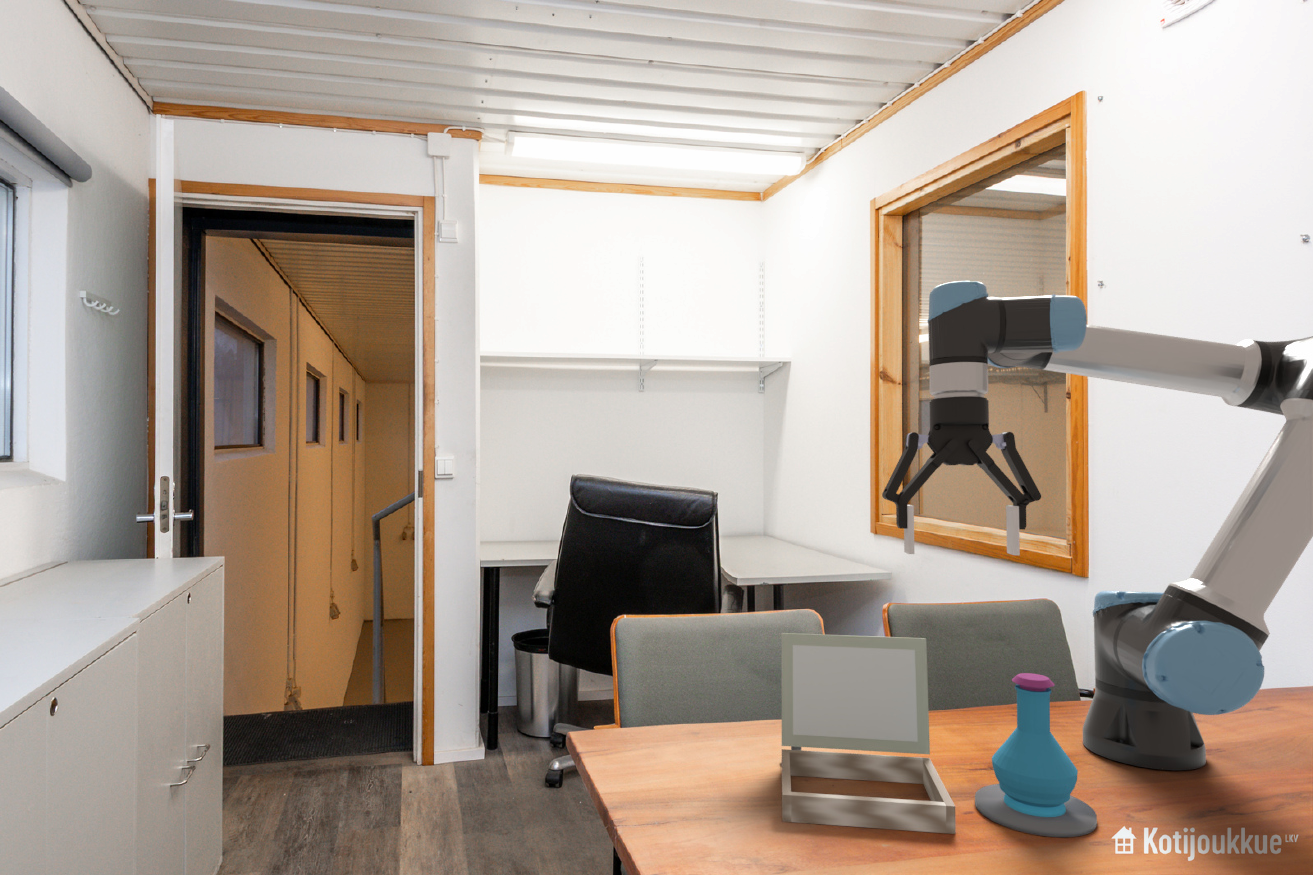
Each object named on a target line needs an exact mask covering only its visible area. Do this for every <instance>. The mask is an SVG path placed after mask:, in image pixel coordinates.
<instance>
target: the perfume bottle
mask: <svg viewBox="0 0 1313 875" xmlns="http://www.w3.org/2000/svg"><path fill="white" fill-rule="evenodd" d="M1011 681H1012V682H1013V683H1015V685H1014V690H1016V728H1015V729H1014V730H1013V731H1012V733H1011V734H1010V735H1009V736H1008V737H1007V739H1006V740H1005V741H1004V742H1003V743H1002V745H1000V747H998V748H997V750H996V751H995V752H994V753H993V755H992V757H991V762H992V764H991V765H992V768H993V771H994V775H995V778H996V780H997V781H998V784H999V786H1000V789H1001V790H1002V791H1003V792H1004V793H1005V795H1004V802H1005V804H1006V805H1007V806H1009V807H1010V808H1012V809H1014V810H1016V811H1019V812H1021V813H1025V814H1028V815H1033V816H1040V817H1057V816H1061V815H1063V814H1064V813H1065V812H1066V807H1065V805H1064V803H1065V802H1067V801H1069V799H1070V795H1071V794H1072V793H1073V791H1074V789H1075V787H1076V784H1077V781H1078V771H1079V770H1078V769H1077V767H1076V766H1075V764H1074V763H1073V761H1072V760H1071V758H1070V756H1068V755H1067V753H1066V751H1065V750H1064V749H1063V748H1062V746H1061V745H1060V743H1059V742H1058V741H1057V739H1056V738H1055V736H1054V735H1053V734H1052V731H1051V711H1050V710H1051V709H1050V708H1051V705H1050V704H1051V700H1050V698H1051V696H1050V695H1051V694H1052V687H1055V683H1054V682H1053V681H1052V680H1051V678H1050V677H1048V676H1046V675H1042V674H1038V673H1031V672H1030V673H1029V672H1026V673H1025V672H1021V673H1018V674H1016V675H1015V676H1014V677H1013V678H1012V679H1011Z"/></svg>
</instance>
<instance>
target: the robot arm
mask: <svg viewBox="0 0 1313 875" xmlns="http://www.w3.org/2000/svg"><path fill="white" fill-rule="evenodd" d="M987 290H988V289H987V286H986V284H984V283H983V282H981V281H976V280H975V281H970V280H958V281H951V282H945V283H943V284H939V285H937V286H935V287H933V289H932V290H931V291H930V293H929V297H928V298H929V299H928V302H929V303H928V319H927V323H928V324H927V327H928V328H927V329H928V330H927V332H928V360H929V362H928V363H929V388H928V389H929V395H931V396H933V398H932V399H931V400H930V402H929V431H928V434H920V433H917V432H916V431H915V432H914V431H913V432H909V433H907V434H906V435H905V444H904V449H903V451H902V454H901V455H900V458H899V459H898V461H897V464H896V466H895V467H894V469H893V471H892V474H891V475H890V478H889V480H888V482H886V486H885V487H884V489H883V492H882V493H881V494H882V496H881V497H882V499H884V500H887V501H889V502H892V503H894V504H895V508H896V510H895V514H896V516H895V517H896V518H895V519H896V520H895V521H896V527H897V528H898V529H902V530H903V534H904V536H903V541H904V542H903V543H904V545H903V546H904V547H903V548H904V551H903V552H904V553H906V554H908V555H915V505H912V504H908V503H909V502H910V501H911V500H912V499H913V497H914V496H915V495H916V494H917V493H918V491H919V490H920V489H921V488H922V487H923V486H924V484H925V483H926V482H928V480H929V479H930V478H931V476H933V474H934V473H935V472H936V470H937V469H939V468H940V467H941V466H942V465H945V466H958V465H960V466H974V465H977V467H979V468H980V469H982V471H984V473H985V474H986V475H987V476H988V477H989V478H990V479H991V480H992V482H993V483H994V484H995V485H996V486H997V487H998V488H999V489H1000V491H1001V492H1002V493H1003V494H1004V495H1005V496H1006V497H1007V498H1008V500H1009V501H1010V502H1011V503H1012V505H1010V504H1008V505H1005V514H1006V515H1005V518H1006V519H1005V520H1006V521H1005V523H1006V524H1005V525H1006V554H1009V555H1012V556H1020V555H1021V554H1020V551H1021V549H1020V548H1021V547H1020V541H1021V540H1020V530H1026V528H1027V506H1028V505H1029V504H1031V503H1033V502H1038V501H1040V500H1041V498H1042V493H1041V492H1040V491H1039V490H1040V489H1039V488H1038V486H1037V484H1036V483H1035V481H1034V479H1033V477H1032V476H1031V474H1030V472H1029V470H1028V468H1027V466H1026V464H1025V462H1024V461H1023V458H1022V457H1021V455H1020V453H1019V451H1018V449H1017V445H1016V437H1015V434H1014V433H1013V432H1012V431H1007V432H1002V433H1001V432H1000V433H999V434H996V433H995V434H992V433H991V431H990V420H989V419H990V415H989V412H990V411H989V408H990V407H989V400H988V399H987V397H984V396H985V395H986V394H988V393H989V371H988V370H989V369H988V364H989V365H990V366H992V367H994V368H998V369H999V368H1000V369H1011V368H1014V367H1020V368H1026V369H1027V368H1028V369H1032V370H1044V371H1049V372H1055V373H1061V374H1062V373H1064V374H1070V375H1074V376H1075V375H1076V376H1083V377H1089V378H1095V379H1100V380H1101V379H1103V380H1108V381H1115V382H1121V383H1127V384H1136V385H1142V386H1148V387H1153V388H1160V389H1166V390H1174V391H1181V392H1186V393H1193V394H1200V395H1206V396H1211V397H1212V396H1213V397H1219V398H1221V399H1222V400H1223V401H1224V403H1225V404H1226V405H1228V406H1232V407H1236V408H1237V407H1238V408H1245V409H1248V410H1255V411H1259V412H1264V413H1265V412H1266V413H1270V414H1275V415H1281V416H1284V419H1285V423H1284V424H1283V426H1282V428H1281V429H1280V431H1279V433H1278V434H1277V436H1276V438H1275V439H1274V441H1273V443H1271V446H1270V447H1269V448H1268V450H1267V452H1266V454H1265V455H1264V457H1263V459H1262V460H1261V461H1260V463H1259V465H1258V467H1256V470H1255V471H1254V473H1253V474H1252V476H1251V478H1250V480H1249V481H1248V483H1247V484H1246V486H1245V488H1244V489H1243V491H1242V492H1241V494H1240V495H1239V497H1238V499H1237V500H1236V502H1235V503H1234V505H1233V507H1232V508H1231V510H1230V512H1229V514H1228V515H1227V516H1226V519H1224V521H1223V523H1222V525H1220V528H1219V530H1218V531H1217V533H1216V534H1215V536H1214V537H1213V540H1212V541H1211V543H1210V544H1209V546H1208V547H1207V549H1206V550H1205V553H1203V555H1202V557H1201V559H1200V561H1199V562H1198V563H1197V565H1196V566H1195V568H1194V570H1193V572H1191V575H1190V577H1188V578H1187V579H1185V580H1179V581H1176V582H1170V583H1169V584H1168V585H1167V586H1166V589H1165V590H1164V592H1157V591H1152V592H1151V591H1126V590H1125V591H1124V590H1101V591H1099V592H1098V593H1097V594H1096V595H1095V596H1094V600H1093V602H1094V607H1093V610H1092V617H1093V638H1094V646H1093V647H1094V676H1095V677H1094V678H1095V679H1094V680H1095V684H1094V695H1093V698H1092V700H1091V703H1090V706H1089V708H1088V712H1087V714H1086V716H1085V720H1084V723H1083V724H1082V744H1083V746H1084V747H1085V748H1087V749H1088V750H1089V751H1091V752H1092V753H1094V754H1096V755H1099V756H1100V757H1102V758H1103V757H1104V758H1106V759H1109V760H1111V761H1115V762H1119V763H1122V764H1126V765H1130V766H1135V767H1141V768H1145V769H1153V770H1155V769H1156V770H1161V771H1162V770H1163V771H1165V770H1166V771H1189V770H1190V771H1191V770H1196V769H1199V768H1202V767H1204V766H1205V765H1206V763H1207V762H1206V761H1207V757H1206V756H1207V754H1206V745H1205V741H1204V739H1203V736H1202V733H1201V730H1200V728H1199V726H1198V723H1197V720H1196V718H1195V715H1194V714H1196V715H1197V714H1198V715H1202V716H1203V715H1204V716H1219V715H1224V714H1230V713H1232V712H1234V711H1237V710H1240V709H1241V708H1243V707H1244V706H1246V705H1247V704H1249V703H1250V702H1251V701H1252V700H1253V699H1254V698H1255V697H1256V695H1258V693H1259V691H1260V689H1261V687H1262V684H1263V683H1264V682H1263V681H1264V678H1265V666H1264V664H1263V655H1262V654H1261V649H1262V648H1263V647H1264V645H1265V643H1266V641H1267V639H1269V636H1270V631H1269V628H1268V625H1267V623H1266V621H1265V613H1266V612H1267V610H1268V609H1269V607H1270V606H1271V604H1272V603H1273V600H1274V599H1275V598H1276V596H1277V594H1278V593H1279V590H1281V588H1282V586H1283V585H1284V583H1285V581H1286V580H1287V578H1288V576H1289V575H1290V574H1291V571H1292V570H1293V568H1294V567H1295V565H1296V563H1298V561H1299V559H1300V557H1301V556H1302V554H1303V553H1304V551H1305V550H1306V548H1307V547H1308V545H1309V543H1310V541H1311V540H1312V538H1313V336H1309V337H1308V336H1307V337H1304V338H1299V339H1298V338H1297V339H1292V340H1285V341H1281V340H1280V341H1263V340H1262V341H1261V340H1256V339H1255V340H1254V339H1253V340H1252V339H1244V340H1241V341H1240V342H1238V343H1236V344H1230V343H1225V342H1224V343H1223V342H1216V341H1208V340H1202V339H1201V340H1200V339H1193V338H1188V337H1186V338H1185V337H1178V336H1171V335H1166V334H1158V333H1151V332H1150V333H1149V332H1143V331H1136V330H1135V331H1134V330H1128V329H1120V328H1114V327H1107V326H1106V327H1105V326H1100V325H1093V324H1087V322H1088V319H1087V318H1088V317H1087V310H1086V305H1085V304H1084V302H1083V300H1082V298H1080V297H1078V296H1076V295H1059V294H1055V293H1054V294H1051V295H1038V296H1037V295H1036V296H1034V295H1033V296H1013V297H995V296H989V293H988V291H987ZM924 444H927V446H928V447H929V448H930V450H931V451H932V452H933V453H932V454H931V455H930V456H929V457H928V459H927V460H926V462H925V463H924V465H922V466H921V468H920V469H919V470H918V471H917V472H916V473H915V475H914V476H913V477H912V478H911V480H910V481H909V482H908V483H907V484H906V485H905V486H904V487H903V489H902V490H901V491H900V492H899V493H897V492H898V491H899V488H900V487H901V486H902V482H903V481H904V479H905V477H906V474H907V473H908V471H909V469H910V466H911V464H912V463H913V461H914V458H915V457H916V455H917V452H918V450H921V449H922V448H923V447H924ZM992 444H994V445H995V447H996V448H997V449H998V450H1000V451H1001V454H1002V456H1003V458H1004V459H1005V462H1006V463H1007V465H1008V466H1009V469H1010V471H1011V473H1012V474H1013V477H1014V478H1015V480H1016V482H1017V483H1018V486H1019V487H1020V489H1019V488H1018V487H1017V486H1016V485H1015V484H1014V483H1013V482H1012V480H1011V479H1009V477H1008V476H1007V475H1006V474H1005V473H1004V471H1002V469H1001V468H1000V467H999V466H998V465H997V463H995V460H994V459H993V458H992V457H991V456H990V455H989V454H988V452H987V451H988V450H989V448H990V447H991V445H992ZM1020 490H1021V491H1022V492H1021V491H1020Z"/></svg>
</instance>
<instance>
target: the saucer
mask: <svg viewBox="0 0 1313 875" xmlns="http://www.w3.org/2000/svg"><path fill="white" fill-rule="evenodd" d="M1004 795H1005V793H1004V792H1003V791H1002V790H1001V789H1000V786H999V783H994V784H989V785H986V786H983V787H981V788H979V789H978V790H977V791H976V792H975V795H974V805H975V808H976V809H977V811H978V813H980V814H982V816H984V817H986V818H987V819H989V820H990V821H992V822H994V823H996V824H998V825H1000V826H1002V827H1005V828H1008V829H1011V830H1015V831H1018V832H1020V833H1024V834H1025V833H1026V834H1030V835H1036V836H1042V837H1050V838H1074V837H1075V838H1076V837H1081V836H1086V835H1088V834H1090V833H1092V832H1093V831H1095V829H1097V826H1098V821H1097V820H1098V819H1097V817H1098V816H1097V813H1096V811H1095V809H1093V807H1092V806H1090V805H1089V804H1087V803H1086V802H1085V801H1083V800H1081V799H1079V798H1077V797H1076V796H1073V795H1071V794H1070V799H1069V801H1067V802H1065V803H1064V805H1065V807H1066V812H1065V813H1064V814H1063V815H1061V816H1057V817H1040V816H1033V815H1028V814H1025V813H1021V812H1019V811H1016V810H1014V809H1012V808H1010V807H1009V806H1007V805H1006V804H1005V802H1004Z"/></svg>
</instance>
